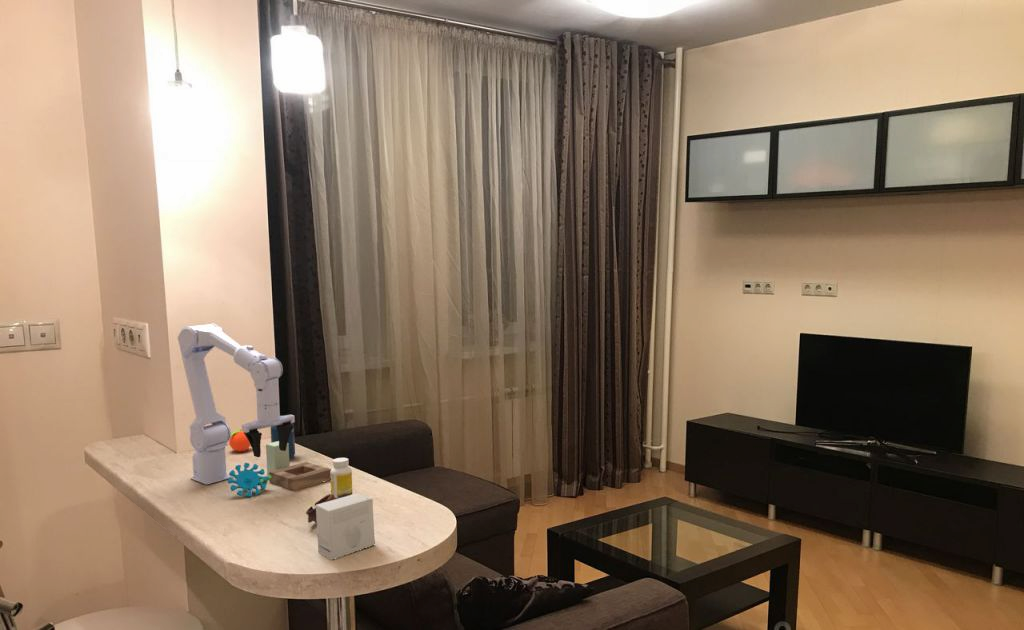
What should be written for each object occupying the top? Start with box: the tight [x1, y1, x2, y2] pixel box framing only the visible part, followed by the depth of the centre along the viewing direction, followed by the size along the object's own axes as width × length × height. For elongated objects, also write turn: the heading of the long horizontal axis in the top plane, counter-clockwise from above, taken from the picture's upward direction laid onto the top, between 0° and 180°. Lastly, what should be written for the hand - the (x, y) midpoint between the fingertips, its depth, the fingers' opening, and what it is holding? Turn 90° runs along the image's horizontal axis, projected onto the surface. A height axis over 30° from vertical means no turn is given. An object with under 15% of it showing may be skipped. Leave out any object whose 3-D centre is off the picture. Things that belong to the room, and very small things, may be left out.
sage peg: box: [265, 441, 290, 476], centre depth 203 cm, size 4×4×9 cm
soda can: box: [270, 423, 296, 461], centre depth 218 cm, size 7×7×12 cm
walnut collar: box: [268, 461, 332, 492], centre depth 196 cm, size 12×12×3 cm
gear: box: [227, 462, 272, 498], centre depth 187 cm, size 11×6×10 cm
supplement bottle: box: [330, 457, 353, 498], centre depth 182 cm, size 5×5×10 cm
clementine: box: [228, 429, 251, 453], centre depth 227 cm, size 8×7×7 cm
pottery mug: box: [305, 493, 350, 524], centre depth 164 cm, size 12×10×8 cm
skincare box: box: [315, 492, 376, 561], centre depth 149 cm, size 10×6×10 cm, turn 133°
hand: (270, 453), depth 189 cm, fingers open, 7 cm apart
